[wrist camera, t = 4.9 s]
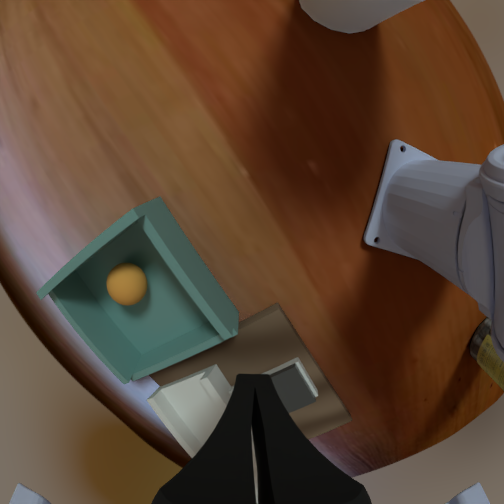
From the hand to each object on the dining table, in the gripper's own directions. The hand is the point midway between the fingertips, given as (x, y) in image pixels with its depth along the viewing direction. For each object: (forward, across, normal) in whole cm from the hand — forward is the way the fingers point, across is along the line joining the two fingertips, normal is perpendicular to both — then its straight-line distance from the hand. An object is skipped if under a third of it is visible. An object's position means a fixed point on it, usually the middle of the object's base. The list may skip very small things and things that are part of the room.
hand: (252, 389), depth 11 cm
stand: (+10, -2, +12) cm, 15 cm away
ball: (+8, +9, -1) cm, 12 cm away
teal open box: (+10, +8, 0) cm, 13 cm away
